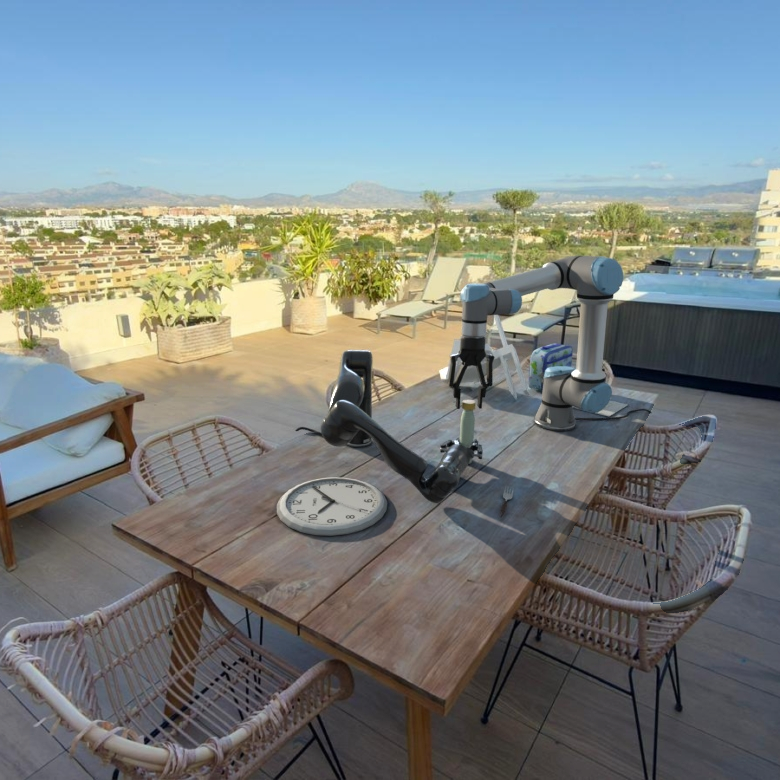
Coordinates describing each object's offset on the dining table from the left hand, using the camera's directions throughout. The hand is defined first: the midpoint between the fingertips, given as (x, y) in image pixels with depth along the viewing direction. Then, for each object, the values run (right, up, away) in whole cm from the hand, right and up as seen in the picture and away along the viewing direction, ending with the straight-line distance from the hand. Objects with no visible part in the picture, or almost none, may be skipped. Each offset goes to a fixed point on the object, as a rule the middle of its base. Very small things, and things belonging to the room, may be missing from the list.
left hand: (468, 440), depth 172 cm
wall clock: (-41, -15, -29) cm, 53 cm away
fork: (+6, -15, -28) cm, 32 cm away
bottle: (-1, -7, 0) cm, 7 cm away
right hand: (-1, +11, -6) cm, 13 cm away
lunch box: (+51, +18, +80) cm, 96 cm away
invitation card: (+66, +9, +54) cm, 86 cm away
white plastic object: (+16, +15, +71) cm, 75 cm away
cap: (-1, +13, -7) cm, 14 cm away
